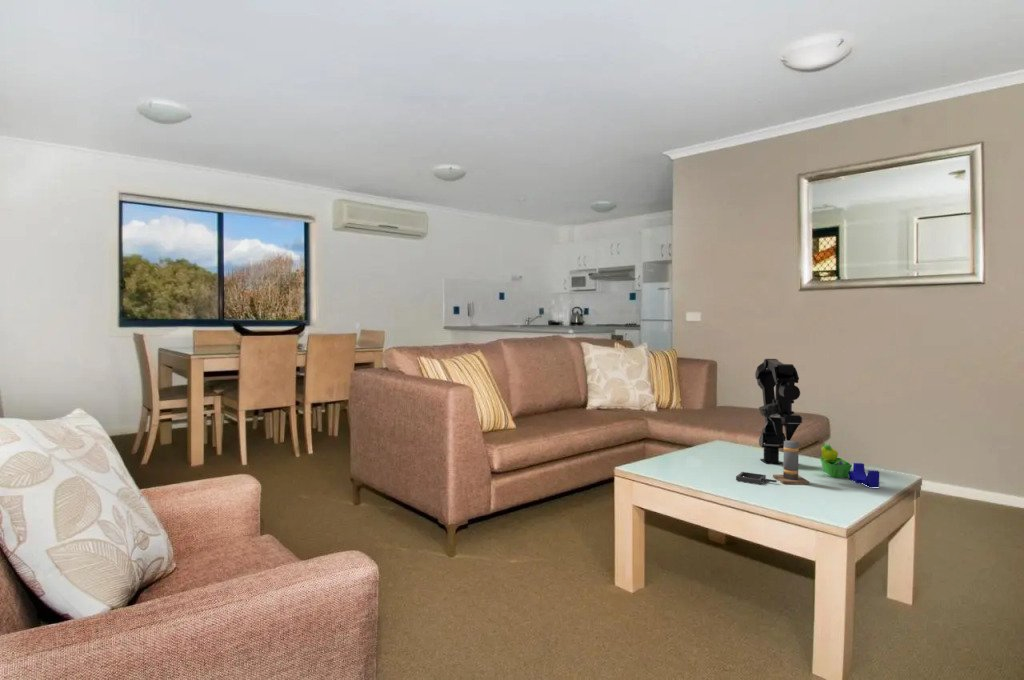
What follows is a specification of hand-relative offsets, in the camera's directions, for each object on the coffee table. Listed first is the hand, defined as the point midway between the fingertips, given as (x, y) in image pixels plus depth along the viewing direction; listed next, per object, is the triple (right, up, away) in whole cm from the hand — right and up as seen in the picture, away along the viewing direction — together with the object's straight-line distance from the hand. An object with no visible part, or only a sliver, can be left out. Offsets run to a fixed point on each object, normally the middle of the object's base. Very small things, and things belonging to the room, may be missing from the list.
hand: (783, 438), depth 220 cm
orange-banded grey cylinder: (-3, -12, -11) cm, 17 cm away
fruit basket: (+18, -13, -2) cm, 22 cm away
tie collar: (-15, -13, -12) cm, 23 cm away
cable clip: (+22, -14, -15) cm, 30 cm away
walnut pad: (-3, -13, -11) cm, 18 cm away
